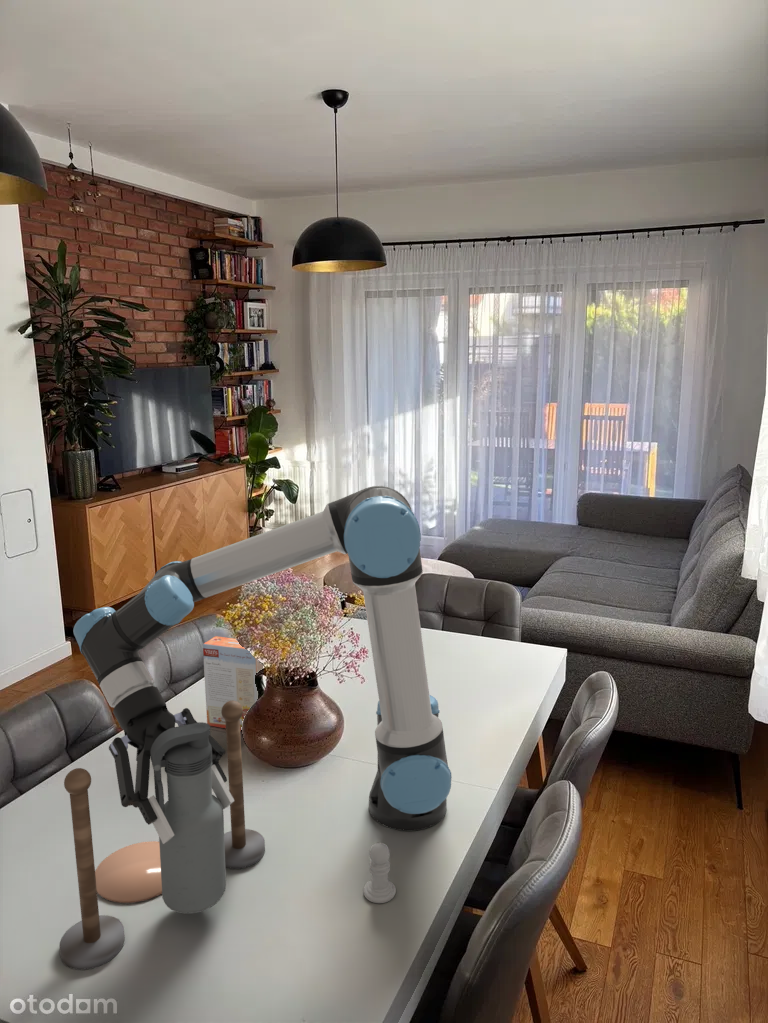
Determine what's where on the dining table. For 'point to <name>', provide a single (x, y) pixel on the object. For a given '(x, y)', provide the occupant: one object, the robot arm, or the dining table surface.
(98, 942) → the walnut post
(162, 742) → the water bottle
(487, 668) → the dining table surface
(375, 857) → the chess piece
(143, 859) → the glossy peach dome
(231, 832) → the walnut post
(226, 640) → the cracker box
